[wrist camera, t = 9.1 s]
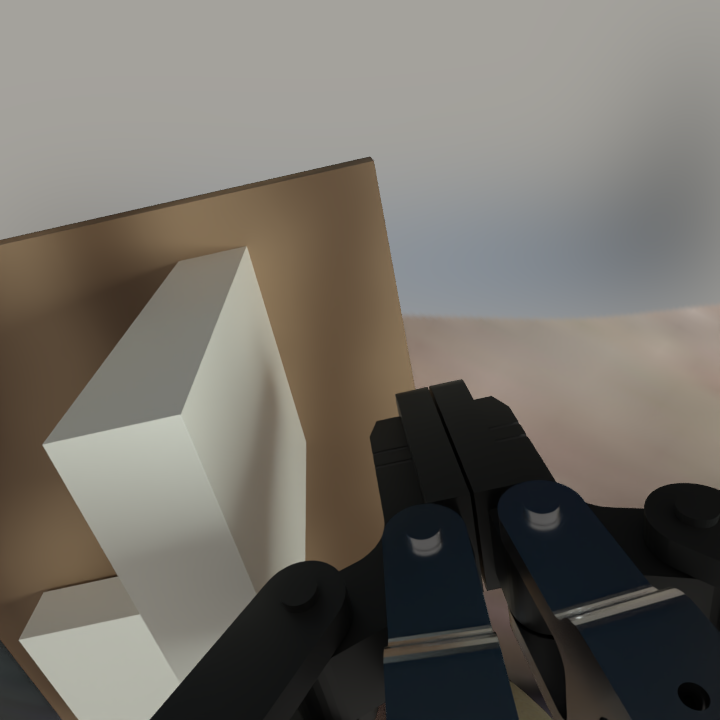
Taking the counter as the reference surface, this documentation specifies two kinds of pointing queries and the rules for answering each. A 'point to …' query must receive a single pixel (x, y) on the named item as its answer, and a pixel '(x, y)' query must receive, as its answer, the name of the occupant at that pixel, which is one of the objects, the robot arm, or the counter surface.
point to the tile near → (191, 456)
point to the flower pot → (527, 706)
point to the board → (126, 301)
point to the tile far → (99, 652)
